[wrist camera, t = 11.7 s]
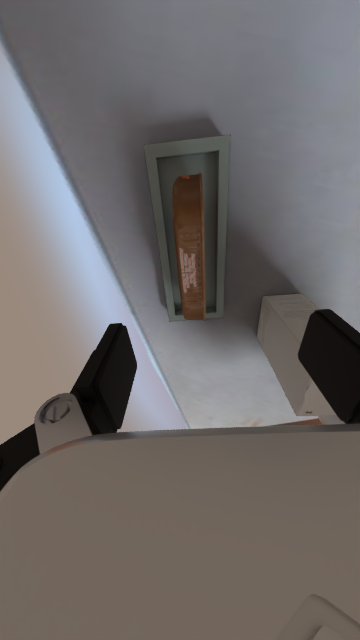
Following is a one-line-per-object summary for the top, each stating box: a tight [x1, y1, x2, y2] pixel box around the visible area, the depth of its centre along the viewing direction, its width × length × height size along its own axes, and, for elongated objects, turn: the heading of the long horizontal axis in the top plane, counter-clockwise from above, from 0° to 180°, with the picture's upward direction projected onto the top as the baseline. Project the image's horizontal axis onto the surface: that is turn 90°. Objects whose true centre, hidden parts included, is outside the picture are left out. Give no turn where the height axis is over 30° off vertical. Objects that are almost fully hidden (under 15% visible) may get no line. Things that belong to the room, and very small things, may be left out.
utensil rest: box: [144, 134, 231, 322], centre depth 25 cm, size 20×8×2 cm, turn 5°
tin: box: [172, 172, 206, 321], centre depth 22 cm, size 15×3×8 cm, turn 5°
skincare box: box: [257, 294, 336, 416], centre depth 26 cm, size 8×6×15 cm
